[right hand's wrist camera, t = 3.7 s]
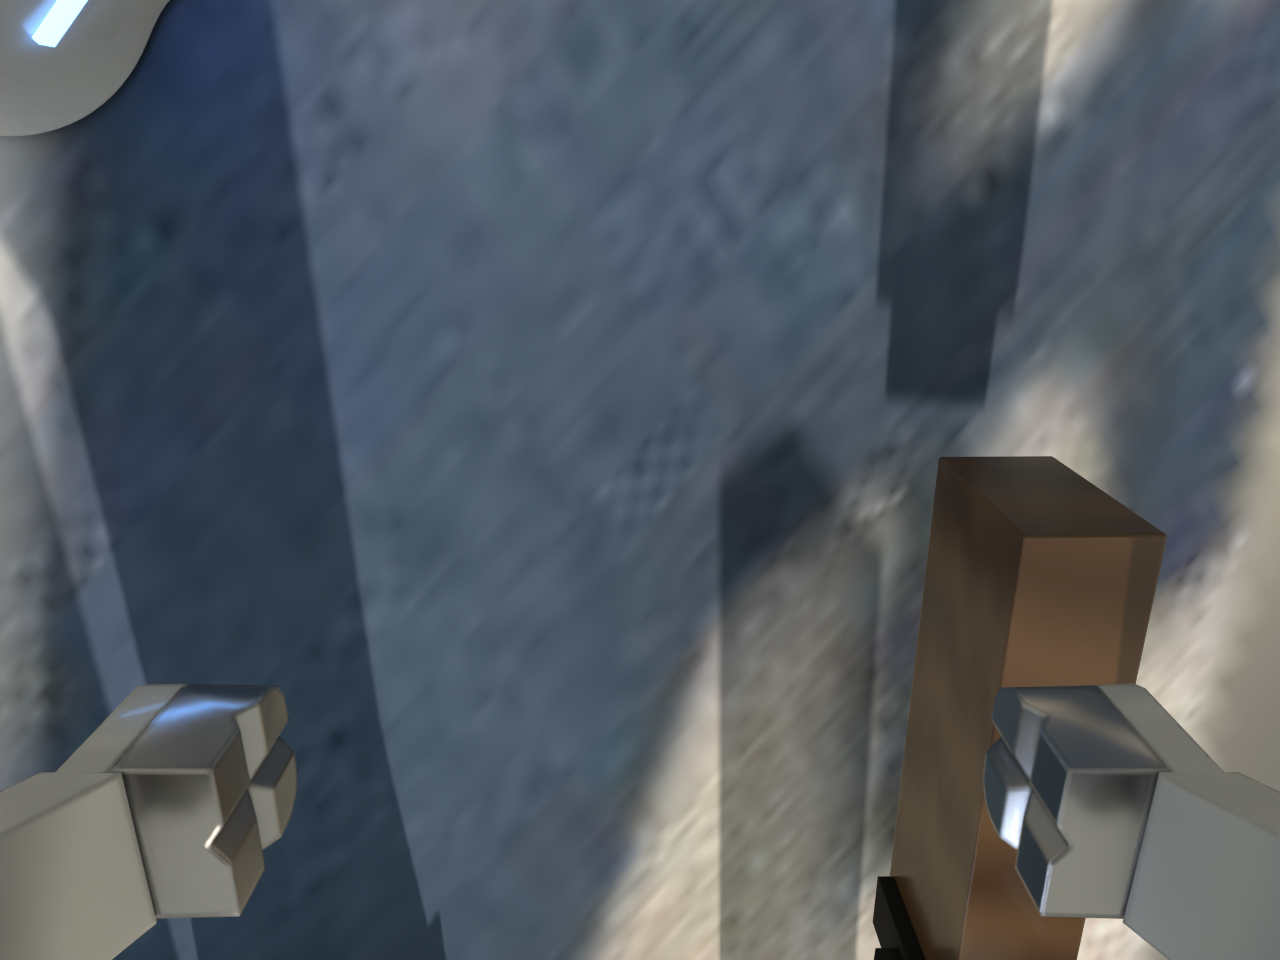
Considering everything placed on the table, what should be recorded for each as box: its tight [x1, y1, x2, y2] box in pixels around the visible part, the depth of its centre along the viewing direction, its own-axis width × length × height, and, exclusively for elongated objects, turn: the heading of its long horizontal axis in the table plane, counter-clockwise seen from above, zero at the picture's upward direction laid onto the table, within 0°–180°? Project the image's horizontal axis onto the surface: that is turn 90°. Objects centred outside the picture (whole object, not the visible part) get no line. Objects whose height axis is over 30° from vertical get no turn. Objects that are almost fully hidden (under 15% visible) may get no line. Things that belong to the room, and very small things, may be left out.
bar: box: [890, 456, 1167, 960], centre depth 36 cm, size 25×5×8 cm, turn 0°
